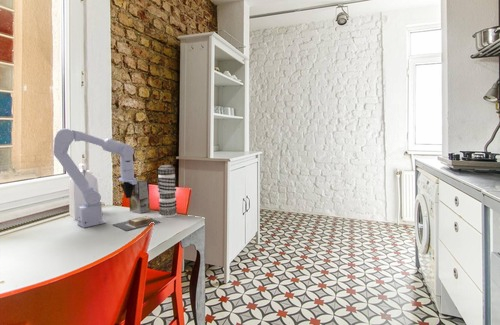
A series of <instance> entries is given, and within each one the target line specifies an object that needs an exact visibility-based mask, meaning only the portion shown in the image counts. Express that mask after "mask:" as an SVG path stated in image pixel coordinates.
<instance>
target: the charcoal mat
mask: <svg viewBox="0 0 500 325" xmlns="http://www.w3.org/2000/svg"><path fill="white" fill-rule="evenodd" d="M152 222H154V223H155V224H159V223H161V221H160V220H157V219H153V218H152ZM149 224H150V223H149ZM149 224H145V225H141V226H137V227H134V226H132V225H129V220H126V221H121V222H117V223H113V224H112V226H113V227H116V228H118V229H121V230H123V231H125V232H128V231H133V230H136V229H140V228H144V227H147V226H148V225H149ZM155 224H154V225H155ZM149 226H150V225H149ZM149 226H148V227H149Z"/></svg>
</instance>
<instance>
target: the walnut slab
mask: <svg viewBox="0 0 500 325" xmlns="http://www.w3.org/2000/svg"><path fill="white" fill-rule="evenodd" d="M152 219H153V217H149V216H147V215H144V216H140V217H135V218H131V219H128V221H129V225H132V226H134V227H137V226H141V225H145V224H149V223H151V222H152Z"/></svg>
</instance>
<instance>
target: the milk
mask: <svg viewBox="0 0 500 325" xmlns="http://www.w3.org/2000/svg"><path fill="white" fill-rule="evenodd" d="M78 169H79V170H80V172H81V173H82V174H83V176H84V177H85V178H86V180H87V181H88V183H89V184H90V185H91V187H92V188H94V189H96V190H97V191H98V192H99V185H98V179H97V178H96V176H95V175H93V172H92V171H90V170H88V169H87V168H86V165H85V164H84V163H78ZM84 202H85V199H84V197H83V193H82V192H81V191H80V189H79V188H78V186H77V185H76V184H75V182H74V181H73V180H72V178H71V177H70V176H69V179H68V204H69V205H68V208H69V210H68V211H69V213H68V214H70V215H69V217H71V218H72V219H73V220H74V221H78V218H77V208H78V207H80V206H83V203H84Z"/></svg>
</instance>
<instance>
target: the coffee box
mask: <svg viewBox="0 0 500 325" xmlns="http://www.w3.org/2000/svg"><path fill="white" fill-rule="evenodd" d="M136 180H137V184H135V186H134V189H133V192H132V196H131V198H128V201H129V212H131V211H132V213H138V214H143V213H145V212H150V211H151V207H150V204H151V203H150V186H149V182H150V181H149V180H143V179H136Z"/></svg>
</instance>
